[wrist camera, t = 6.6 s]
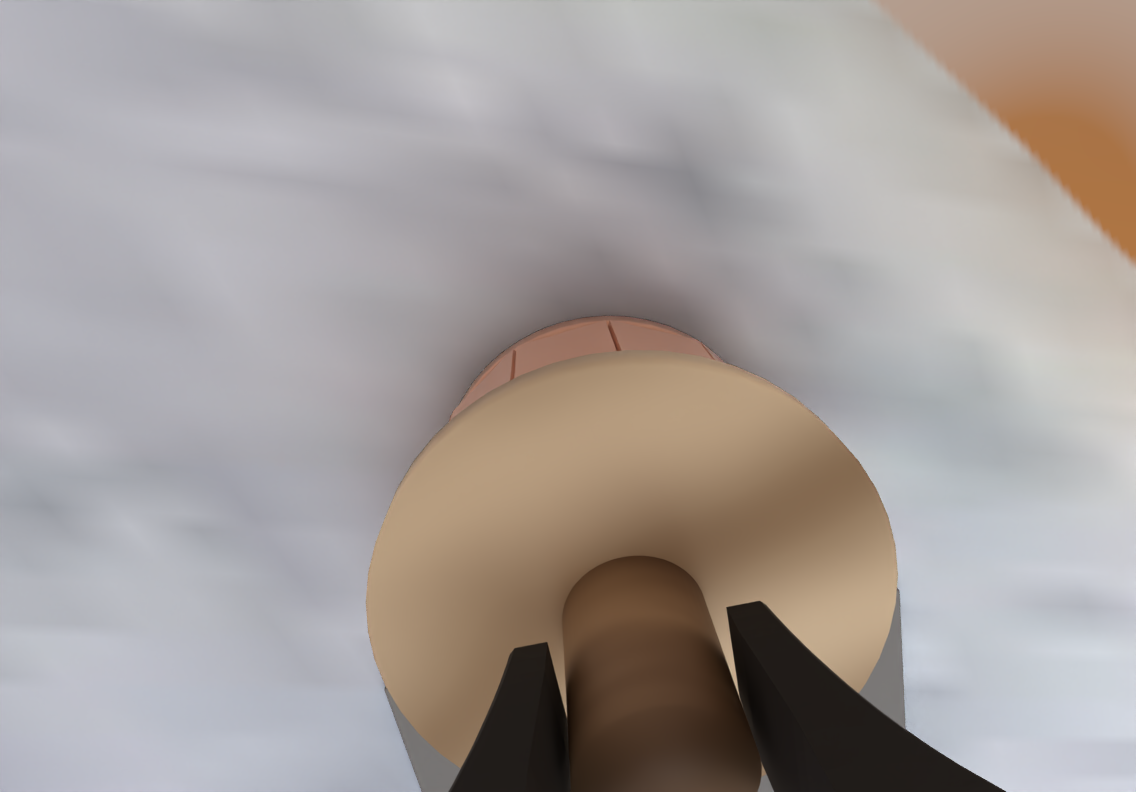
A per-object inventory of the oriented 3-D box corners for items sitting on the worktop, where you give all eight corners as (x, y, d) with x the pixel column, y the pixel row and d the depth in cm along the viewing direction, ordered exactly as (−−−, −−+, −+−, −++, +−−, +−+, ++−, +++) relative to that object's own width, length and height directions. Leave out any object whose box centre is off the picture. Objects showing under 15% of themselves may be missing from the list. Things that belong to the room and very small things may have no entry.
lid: (975, 570, 16) (1152, 750, 12) (630, 842, 19) (661, 1080, 14) (626, 231, 13) (674, 288, 9) (273, 608, 16) (162, 810, 11)
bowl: (826, 461, 21) (911, 559, 16) (605, 653, 23) (624, 789, 18) (603, 243, 18) (627, 284, 14) (378, 479, 20) (331, 586, 16)
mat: (907, 873, 27) (912, 883, 27) (484, 949, 27) (484, 961, 27) (893, 583, 22) (899, 590, 22) (386, 680, 23) (384, 690, 22)
